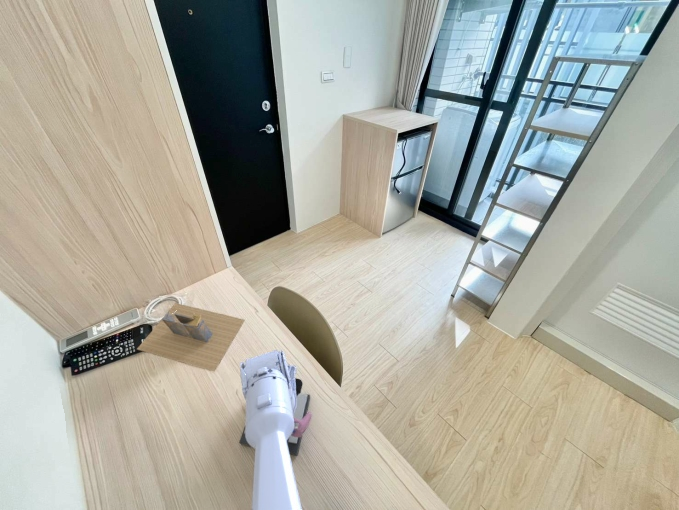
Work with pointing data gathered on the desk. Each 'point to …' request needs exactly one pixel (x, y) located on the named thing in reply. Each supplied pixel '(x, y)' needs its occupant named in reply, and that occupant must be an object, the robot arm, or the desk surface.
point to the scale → (298, 414)
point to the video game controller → (301, 425)
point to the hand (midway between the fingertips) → (286, 418)
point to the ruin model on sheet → (192, 336)
